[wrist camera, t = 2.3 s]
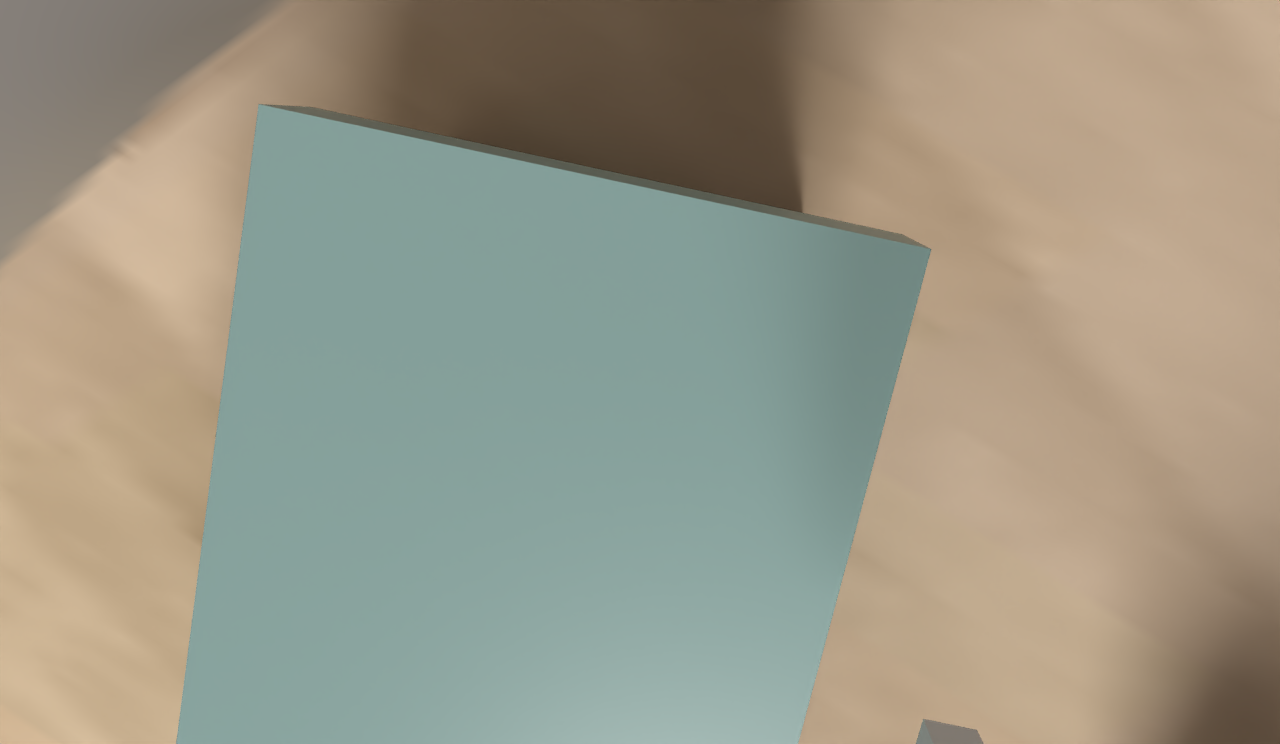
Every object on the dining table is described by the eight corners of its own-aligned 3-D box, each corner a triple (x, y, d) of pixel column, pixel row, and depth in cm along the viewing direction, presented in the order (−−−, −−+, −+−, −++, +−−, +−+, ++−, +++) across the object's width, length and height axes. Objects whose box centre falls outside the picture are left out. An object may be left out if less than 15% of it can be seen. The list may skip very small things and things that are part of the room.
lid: (887, 227, 22) (931, 248, 18) (717, 882, 25) (723, 1022, 21) (336, 108, 22) (258, 103, 18) (239, 779, 25) (156, 900, 21)
